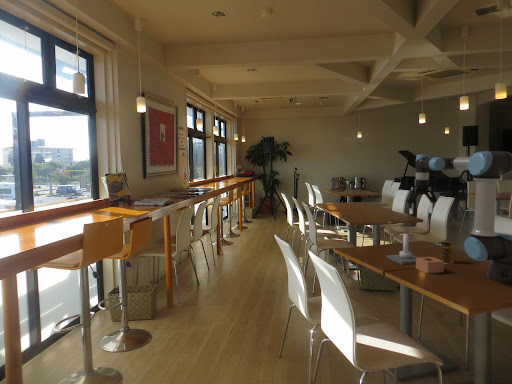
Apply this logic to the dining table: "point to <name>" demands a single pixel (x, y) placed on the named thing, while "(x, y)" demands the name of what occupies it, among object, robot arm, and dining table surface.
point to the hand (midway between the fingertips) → (421, 213)
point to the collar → (429, 265)
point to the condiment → (446, 252)
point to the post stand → (404, 253)
